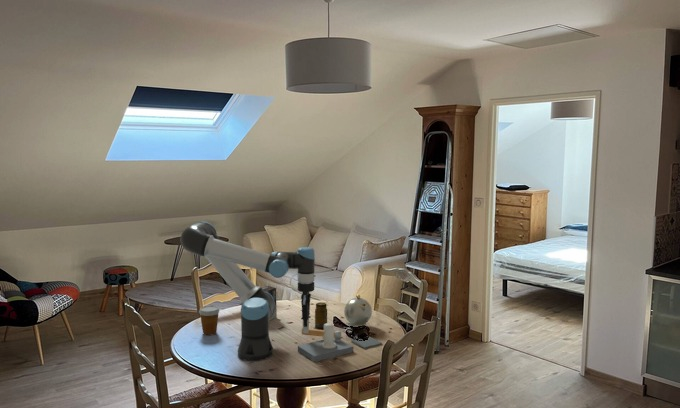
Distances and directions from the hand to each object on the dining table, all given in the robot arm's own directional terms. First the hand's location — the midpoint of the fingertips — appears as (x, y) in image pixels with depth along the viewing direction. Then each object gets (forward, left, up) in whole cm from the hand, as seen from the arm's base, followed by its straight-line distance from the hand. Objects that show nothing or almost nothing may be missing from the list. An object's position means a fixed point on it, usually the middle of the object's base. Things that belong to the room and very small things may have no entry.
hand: (305, 332), depth 250 cm
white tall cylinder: (+4, -13, -5) cm, 15 cm away
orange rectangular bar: (+6, -4, -1) cm, 7 cm away
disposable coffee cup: (-31, +38, -6) cm, 49 cm away
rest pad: (+24, -14, -5) cm, 28 cm away
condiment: (+18, +15, -6) cm, 24 cm away
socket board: (+3, -12, -5) cm, 14 cm away
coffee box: (+1, +42, -6) cm, 42 cm away
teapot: (+34, +8, -6) cm, 35 cm away
